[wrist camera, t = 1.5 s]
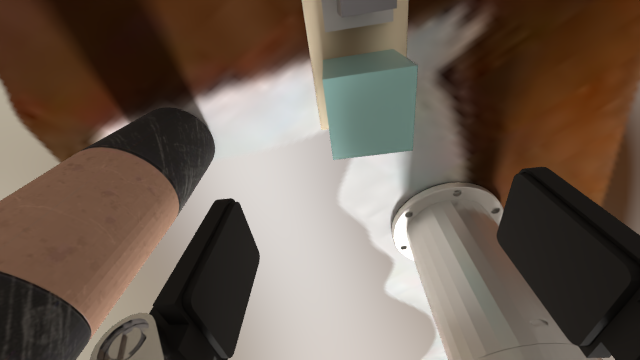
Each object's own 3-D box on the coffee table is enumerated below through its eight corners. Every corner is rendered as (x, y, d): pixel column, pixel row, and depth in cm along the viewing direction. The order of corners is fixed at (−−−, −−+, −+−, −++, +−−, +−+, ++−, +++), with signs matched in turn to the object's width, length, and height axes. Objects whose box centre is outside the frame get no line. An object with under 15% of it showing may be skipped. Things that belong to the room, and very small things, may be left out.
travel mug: (163, 86, 23) (-235, 293, 7) (233, 143, 26) (78, 381, 10) (125, 140, 26) (-211, 373, 10) (192, 185, 29) (22, 421, 13)
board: (408, -85, 17) (411, -88, 16) (402, 116, 24) (404, 119, 24) (293, -62, 18) (291, -64, 17) (321, 126, 25) (321, 130, 24)
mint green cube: (393, 48, 21) (417, 65, 15) (392, 116, 24) (412, 150, 18) (323, 59, 21) (322, 79, 16) (331, 124, 24) (333, 159, 19)
